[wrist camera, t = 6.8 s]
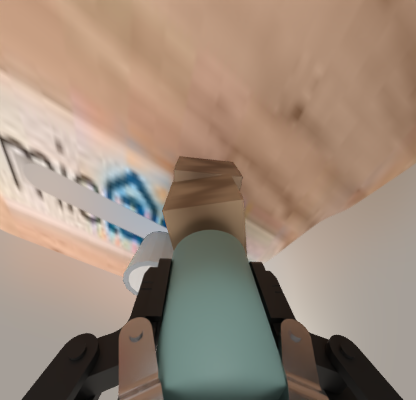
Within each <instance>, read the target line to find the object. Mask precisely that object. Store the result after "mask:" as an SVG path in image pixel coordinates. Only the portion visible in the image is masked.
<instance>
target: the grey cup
mask: <svg viewBox="0 0 416 400" xmlns="http://www.w3.org/2000/svg"><path fill="white" fill-rule="evenodd" d="M173 252H174V250H173V247H172V243H171V240H170V236H169V233H166V232H161V231H158V232H152V233H150V234H149V235H147V236H146V237H145V239H144V240H143V242H142V243H141V245H140V247H139V249H138V250H137V252H136V254H135V255H134V257H133V259H132V260H131V262H130V264H129V266H128V267H127V269H126V271H125V272H124V277H123V282H124V284H125V285H126V288H127V289H128V290H129V291H131V292H132V293H133V294H135V295H138V292H139V289H140V286H141V283H142V279H143V276H144V273H145V272H146V271H147V270H148V269H149V268H150V267H158V263H159V259H160V258H169V259H172V256H173Z"/></svg>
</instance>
